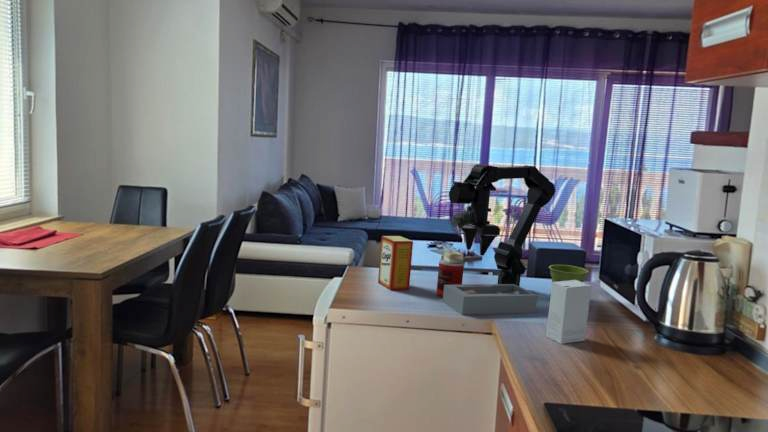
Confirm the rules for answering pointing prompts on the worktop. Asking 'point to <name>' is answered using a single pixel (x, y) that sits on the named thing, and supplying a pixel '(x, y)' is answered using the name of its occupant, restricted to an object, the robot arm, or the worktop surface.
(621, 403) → the worktop surface
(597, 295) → the worktop surface
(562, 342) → the skincare box
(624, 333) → the worktop surface
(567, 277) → the plant pot
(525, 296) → the pocket board
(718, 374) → the worktop surface
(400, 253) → the baking soda box
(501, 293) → the ejector lever
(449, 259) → the beige block
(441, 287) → the canned food
